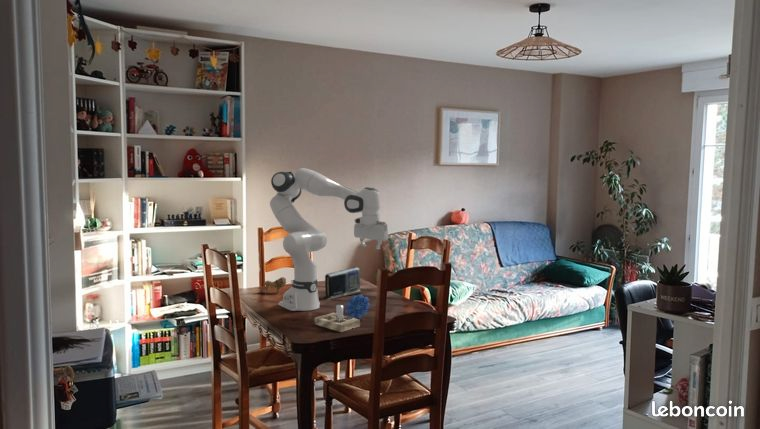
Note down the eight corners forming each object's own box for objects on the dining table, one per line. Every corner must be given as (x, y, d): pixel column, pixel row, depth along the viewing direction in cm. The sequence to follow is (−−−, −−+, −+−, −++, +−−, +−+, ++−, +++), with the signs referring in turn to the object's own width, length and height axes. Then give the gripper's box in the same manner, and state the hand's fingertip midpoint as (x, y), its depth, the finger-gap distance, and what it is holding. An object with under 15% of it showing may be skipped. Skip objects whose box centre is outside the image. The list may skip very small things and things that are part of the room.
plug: (334, 327, 250) (334, 305, 249) (339, 325, 253) (339, 304, 252) (339, 329, 248) (339, 306, 247) (344, 327, 251) (344, 305, 250)
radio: (327, 299, 299) (327, 272, 298) (319, 296, 307) (319, 269, 305) (363, 294, 313) (363, 268, 311) (355, 291, 320) (355, 265, 318)
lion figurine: (287, 292, 316) (287, 276, 315) (285, 294, 310) (285, 278, 309) (261, 291, 316) (261, 275, 315) (258, 293, 311) (258, 277, 310)
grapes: (369, 316, 269) (369, 291, 268) (370, 320, 262) (370, 295, 261) (344, 316, 267) (344, 292, 266) (345, 320, 261) (345, 295, 259)
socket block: (314, 324, 255) (314, 317, 254) (333, 318, 264) (333, 312, 263) (341, 332, 244) (341, 324, 243) (360, 326, 253) (360, 319, 252)
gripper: (391, 221, 273) (390, 249, 274) (360, 218, 286) (360, 245, 287) (382, 222, 268) (382, 251, 269) (352, 219, 281) (351, 246, 283)
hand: (370, 248), depth 278 cm, fingers open, 8 cm apart
